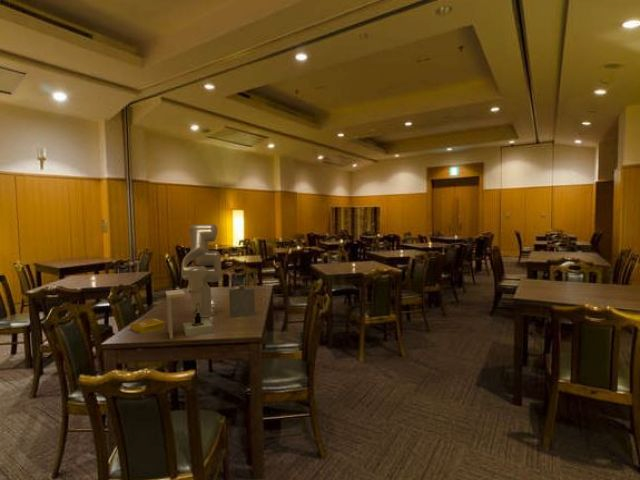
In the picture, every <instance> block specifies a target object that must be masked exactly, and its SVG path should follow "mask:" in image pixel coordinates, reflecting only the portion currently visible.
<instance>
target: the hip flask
mask: <svg viewBox="0 0 640 480" xmlns="http://www.w3.org/2000/svg"><path fill="white" fill-rule="evenodd" d="M228 293H229V294H228V295H229V317H230V318H241V317H240V316H243V317H250V316H251V315H252V316H256V305H255V304H256V302H255V288H254V287H250V288H249V287H248V288H245V285H244V284H241V285H238V287H237V288H233V289H229V290H228ZM252 316H251V317H252Z"/></svg>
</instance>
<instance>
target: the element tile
mask: <svg viewBox="0 0 640 480" xmlns="http://www.w3.org/2000/svg"><path fill="white" fill-rule="evenodd" d="M129 326H130V331H131V332H134V333H136V334H138V333H139V335H143V334H142V333H144V334H149V333H152V332H157V331H160V330H164V329H165V328H166V323H165V321H163V320H162V319H159V318H155V317H152V318H147V319H143V320H138V321H133V322H130V325H129Z"/></svg>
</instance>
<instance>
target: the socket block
mask: <svg viewBox="0 0 640 480" xmlns="http://www.w3.org/2000/svg"><path fill="white" fill-rule="evenodd" d="M165 295H166V296H165V297H166V299H165V300H166V315H167V316H166V318H167V333H168V334H169V339H170V340H172V339H174V333H173V332H174V331H173V315H172V314H173V311H172V299H173V298H181V297H186V292H185V291H184V289H173V290H165ZM182 326H183V327H182V328H183V333H184V334H185V337H193V336H199V335H207V334H212V333H213V324H212V323H211V322H210V320H209V319H204V320H201V325H199V326H194V321H188V322H183V323H182Z"/></svg>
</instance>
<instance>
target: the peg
mask: <svg viewBox="0 0 640 480" xmlns="http://www.w3.org/2000/svg"><path fill="white" fill-rule="evenodd" d="M200 309H201V308H200ZM196 311H197V310H196ZM192 312H193V311H192ZM192 315H193V322H194V326H199V325H201V323H197V324H195V311H194V312H193V313H192ZM200 315H201V311H200Z"/></svg>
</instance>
